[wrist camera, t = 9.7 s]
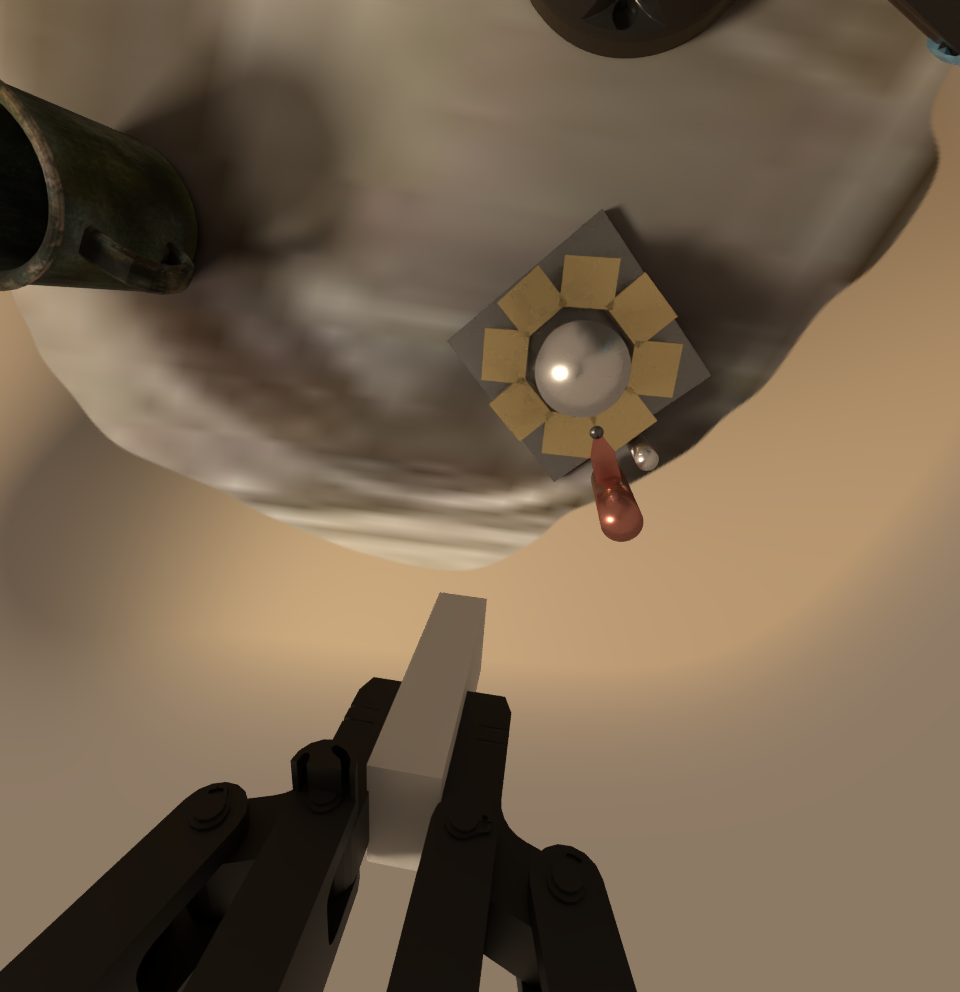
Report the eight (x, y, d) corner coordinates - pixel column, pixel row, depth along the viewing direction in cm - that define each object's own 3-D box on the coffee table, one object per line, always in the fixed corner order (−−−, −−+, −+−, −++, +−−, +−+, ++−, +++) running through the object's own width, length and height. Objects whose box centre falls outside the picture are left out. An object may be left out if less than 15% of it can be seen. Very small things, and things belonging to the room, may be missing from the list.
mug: (90, 94, 35) (-131, -11, 24) (271, 220, 36) (141, 177, 25) (52, 242, 39) (-154, 211, 27) (216, 351, 40) (83, 365, 29)
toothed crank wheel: (464, 297, 34) (436, 292, 26) (647, 230, 31) (678, 201, 24) (531, 513, 39) (525, 564, 31) (697, 471, 36) (737, 515, 28)
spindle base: (601, 212, 33) (619, 170, 23) (721, 394, 35) (779, 422, 26) (449, 340, 37) (413, 348, 27) (567, 495, 39) (571, 551, 30)
